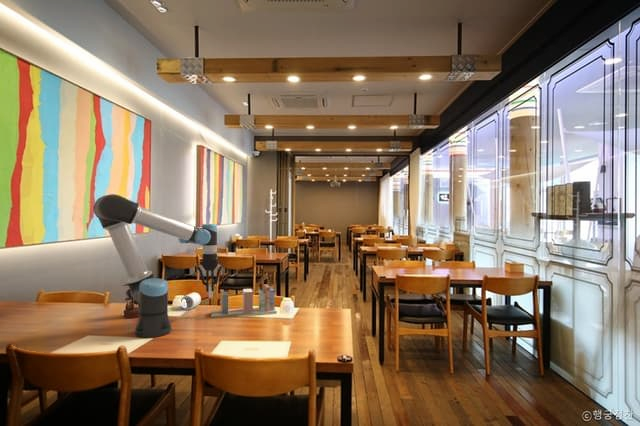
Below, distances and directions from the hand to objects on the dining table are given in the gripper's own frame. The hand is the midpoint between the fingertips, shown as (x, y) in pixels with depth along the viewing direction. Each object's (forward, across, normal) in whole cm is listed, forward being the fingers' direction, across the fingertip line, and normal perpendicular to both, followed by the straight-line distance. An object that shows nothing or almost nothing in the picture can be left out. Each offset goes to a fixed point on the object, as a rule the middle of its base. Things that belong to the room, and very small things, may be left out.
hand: (210, 297), depth 199 cm
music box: (+9, +38, -10) cm, 40 cm away
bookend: (+8, -8, 0) cm, 11 cm away
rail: (+10, -18, 0) cm, 20 cm away
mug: (+10, +12, -21) cm, 26 cm away
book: (+8, -20, 0) cm, 21 cm away
